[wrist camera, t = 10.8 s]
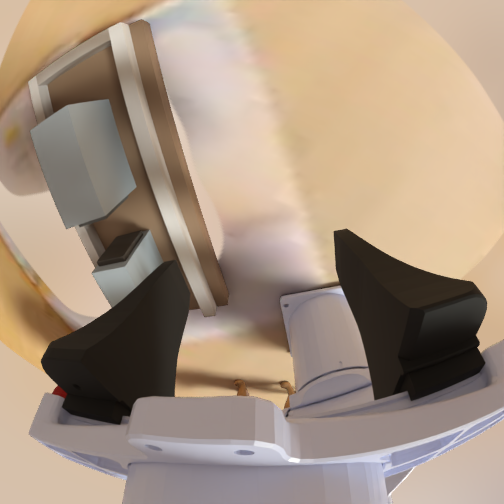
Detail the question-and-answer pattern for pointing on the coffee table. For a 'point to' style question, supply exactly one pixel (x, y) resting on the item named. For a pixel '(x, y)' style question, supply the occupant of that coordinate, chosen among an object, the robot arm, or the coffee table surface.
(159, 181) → the raised edge track
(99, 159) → the gripped grey block
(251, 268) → the coffee table surface
